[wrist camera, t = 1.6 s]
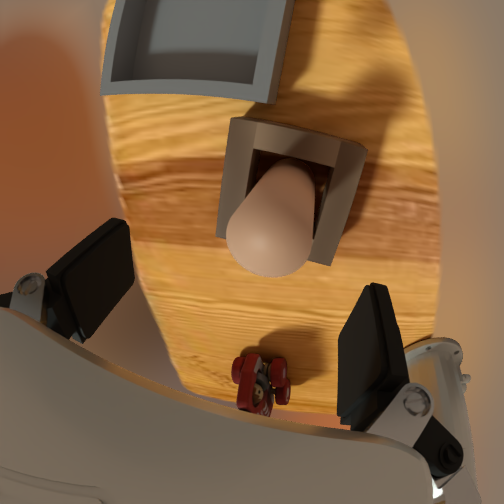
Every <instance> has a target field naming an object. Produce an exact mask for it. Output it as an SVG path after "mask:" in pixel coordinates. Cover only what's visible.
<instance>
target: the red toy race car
mask: <svg viewBox="0 0 504 504" xmlns="http://www.w3.org/2000/svg"><path fill="white" fill-rule="evenodd" d="M231 375H232V380H233V382H234V383H235V384H239V388H238V394H237V407H238V409H239V410H241V411H245V412H249V413H253V414H258V415H262V416H266V417H270V414H271V410H272V407H273V403H274V395H273V394H275V401H276V403H277V404H278V405H287V404H288V402H289V399H290V392H291V387H290V381H289V379H286V377H287V363H286V360H285V359H284V358H274V359H273V361H272V363H267V364H265V365H264V364H263V362H262V360H261V356H260V355H259V354H254V353H249V354H247V356H246V357H237V358H235V360H234V361H233V364H232V371H231ZM269 381H270V382H271V384H270V383H269ZM272 386H273V387H276V388H273V387H272Z"/></svg>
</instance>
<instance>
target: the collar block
mask: <svg viewBox="0 0 504 504" xmlns="http://www.w3.org/2000/svg"><path fill="white" fill-rule="evenodd" d="M261 150H264V151H269V152H273V153H278V154H282V155H287V156H291V157H295V158H299V159H304V160H308V161H311V162H315V163H319V164H323V165H326V166H330V169H329V173H328V177H327V181H326V184H325V188H324V192H323V195H322V199H321V203H320V206H319V210H318V213H317V217H316V220H315V222H313V237H312V248H311V252H310V255H309V257H308V259H307V260H308V261H312V262H316V263H319V264H323V265H327V266H331V263H332V260H333V258H334V255H335V252H336V249H337V247H338V244H339V241H340V238H341V235H342V233H343V230H344V227H345V224H346V221H347V218H348V215H349V212H350V209H351V205H352V202H353V199H354V196H355V193H356V190H357V186H358V183H359V180H360V176H361V173H362V169H363V166H364V162H365V159H366V155H367V151H368V149H366V148H365V147H364V146H363V145H361V144H360V143H356V142H353V141H350V140H347V139H343V138H340V137H336V136H333V135H329V134H325V133H321V132H318V131H314V130H310V129H305V128H301V127H297V126H292V125H288V124H283V123H278V122H273V121H268V120H262V119H256V118H250V117H244V116H242V117H234V118H231V119H230V126H229V133H228V140H227V147H226V154H225V161H224V169H223V177H222V185H221V193H220V201H219V210H218V218H217V228H216V237H220V238H223V239H226V230H227V225H228V222H229V220H230V218H231V216H232V215H233V214H234V212H235V211H236V210H237V209H238V207H239V206H240V205H241V203H242V202H243V201H244V200H245V198H246V197H247V196H248V194H249V193H250V192H251V191H252V189H253V188H254V187H255V181H256V175H257V170H258V164H259V158H260V153H261Z"/></svg>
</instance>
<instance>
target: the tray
mask: <svg viewBox="0 0 504 504" xmlns="http://www.w3.org/2000/svg"><path fill="white" fill-rule="evenodd" d="M294 3H295V0H116V3H115V7H114V11H113V15H112V19H111V24H110V28H109V33H108V39H107V44H106V50H105V56H104V63H103V71H102V79H101V89H100V96H102V95H117V94H187V95H203V96H214V97H224V98H233V99H241V100H248V101H255V102H261V103H267V104H276V98H277V93H278V88H279V82H280V77H281V72H282V66H283V61H284V56H285V50H286V45H287V40H288V35H289V29H290V24H291V19H292V14H293V8H294Z"/></svg>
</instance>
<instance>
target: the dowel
mask: <svg viewBox="0 0 504 504" xmlns="http://www.w3.org/2000/svg"><path fill="white" fill-rule="evenodd" d="M314 203H315V177H314V174H313V172H312V171H311V169H310V168H309V167H308V166H307V165H306V164H305V163H303V162H302V161H300V160H297V159H292V158H286V159H281V160H279V161H277V162H275V163H274V164H273V165H272V166H271V167H270V168H269V169H268V170H267V172H266V173H265V174H264V175H263V177H262V178H261V179H260V180H259V182H258V183H257V184H256V185H255V187H254V188H253V189H252V191H251V192H250V193H249V194H248V196H247V197H246V198H245V200H244V201H243V202H242V203H241V205H240V206H239V207H238V209H237V210H236V211H235V212H234V214H233V215H232V216H231V218H230V220H229V222H228V225H227V230H226V240H227V245H228V248H229V250H230V252H231V254H232V256H233V257H234V259H235V260H236V261H237V262H238V263H239V264H240V265H241V266H242V267H244V268H245V269H246V270H248V271H250V272H252V273H254V274H257V275H260V276H264V277H282V276H286V275H289V274H291V273H293V272H295V271H297V270H298V269H299V268H300V267H301V266H303V264H304V263H305V262H306V261H307V259H308V257H309V255H310V252H311V248H312V237H313V221H314Z"/></svg>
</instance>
